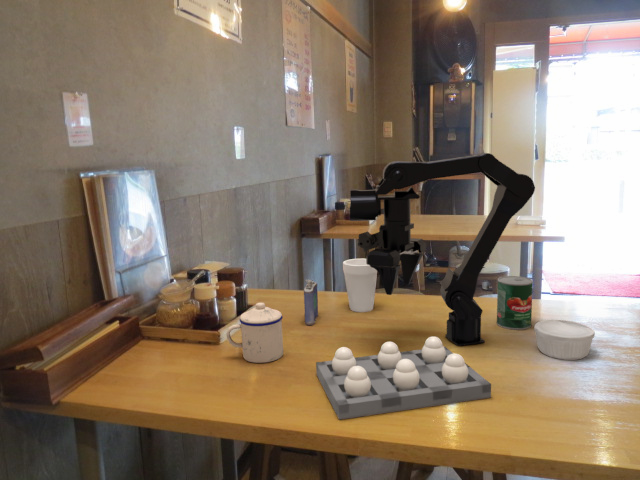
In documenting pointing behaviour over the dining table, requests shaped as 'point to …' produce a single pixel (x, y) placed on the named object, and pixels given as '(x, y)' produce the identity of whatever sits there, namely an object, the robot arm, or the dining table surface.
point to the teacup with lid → (260, 334)
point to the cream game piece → (406, 375)
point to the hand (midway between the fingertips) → (398, 289)
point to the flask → (310, 302)
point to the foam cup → (360, 284)
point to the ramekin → (563, 339)
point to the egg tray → (380, 390)
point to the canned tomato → (514, 302)
